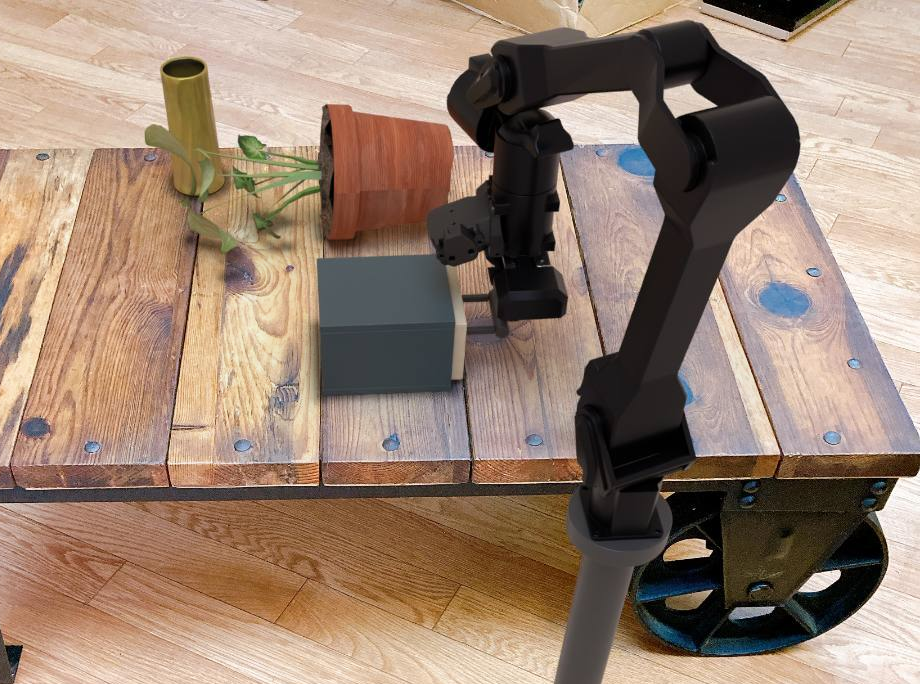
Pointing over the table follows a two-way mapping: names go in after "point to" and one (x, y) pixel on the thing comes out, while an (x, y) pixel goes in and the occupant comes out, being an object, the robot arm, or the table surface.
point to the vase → (191, 120)
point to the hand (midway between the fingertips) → (513, 319)
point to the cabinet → (385, 324)
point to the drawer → (461, 325)
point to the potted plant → (342, 173)
